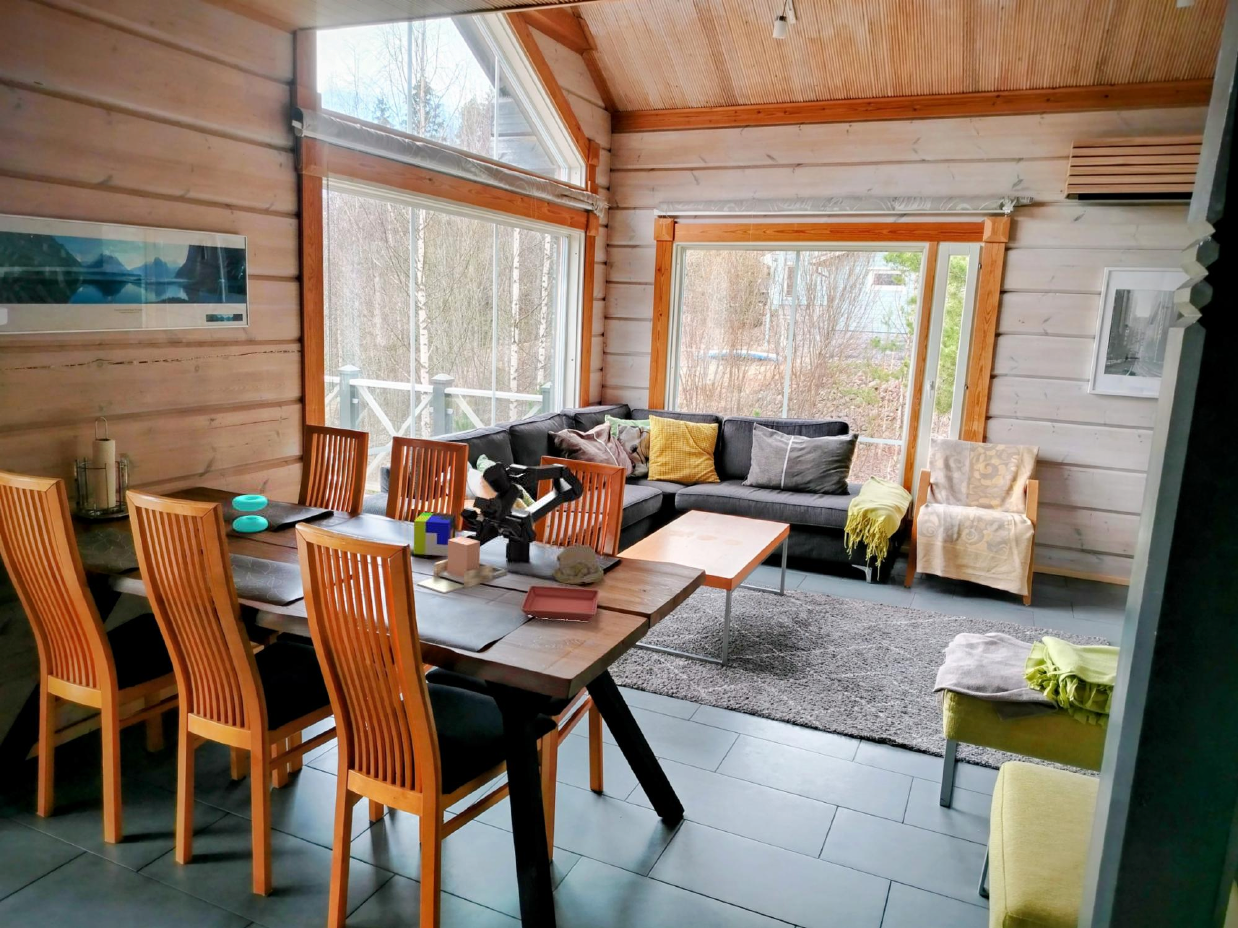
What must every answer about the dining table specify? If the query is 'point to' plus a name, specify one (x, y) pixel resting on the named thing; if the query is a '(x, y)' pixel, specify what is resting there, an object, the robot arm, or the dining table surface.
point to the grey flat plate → (495, 570)
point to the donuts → (250, 521)
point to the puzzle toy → (433, 533)
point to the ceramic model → (577, 565)
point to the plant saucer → (560, 603)
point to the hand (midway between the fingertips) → (474, 547)
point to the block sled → (461, 558)
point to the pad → (440, 585)
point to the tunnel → (467, 573)
